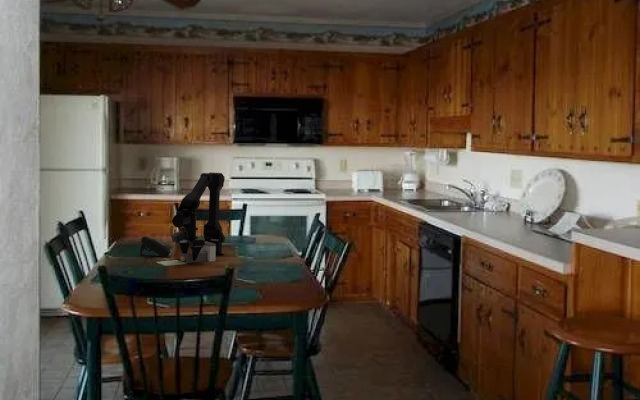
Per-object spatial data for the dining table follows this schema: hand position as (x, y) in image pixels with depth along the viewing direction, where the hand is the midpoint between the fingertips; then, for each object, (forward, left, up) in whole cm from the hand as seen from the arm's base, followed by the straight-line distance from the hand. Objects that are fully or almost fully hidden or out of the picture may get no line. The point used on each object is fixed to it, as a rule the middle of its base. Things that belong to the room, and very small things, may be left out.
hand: (189, 259), depth 320 cm
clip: (-10, 0, -1) cm, 10 cm away
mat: (+9, 0, -1) cm, 9 cm away
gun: (+7, -20, -2) cm, 21 cm away
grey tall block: (-4, 0, -1) cm, 4 cm away
